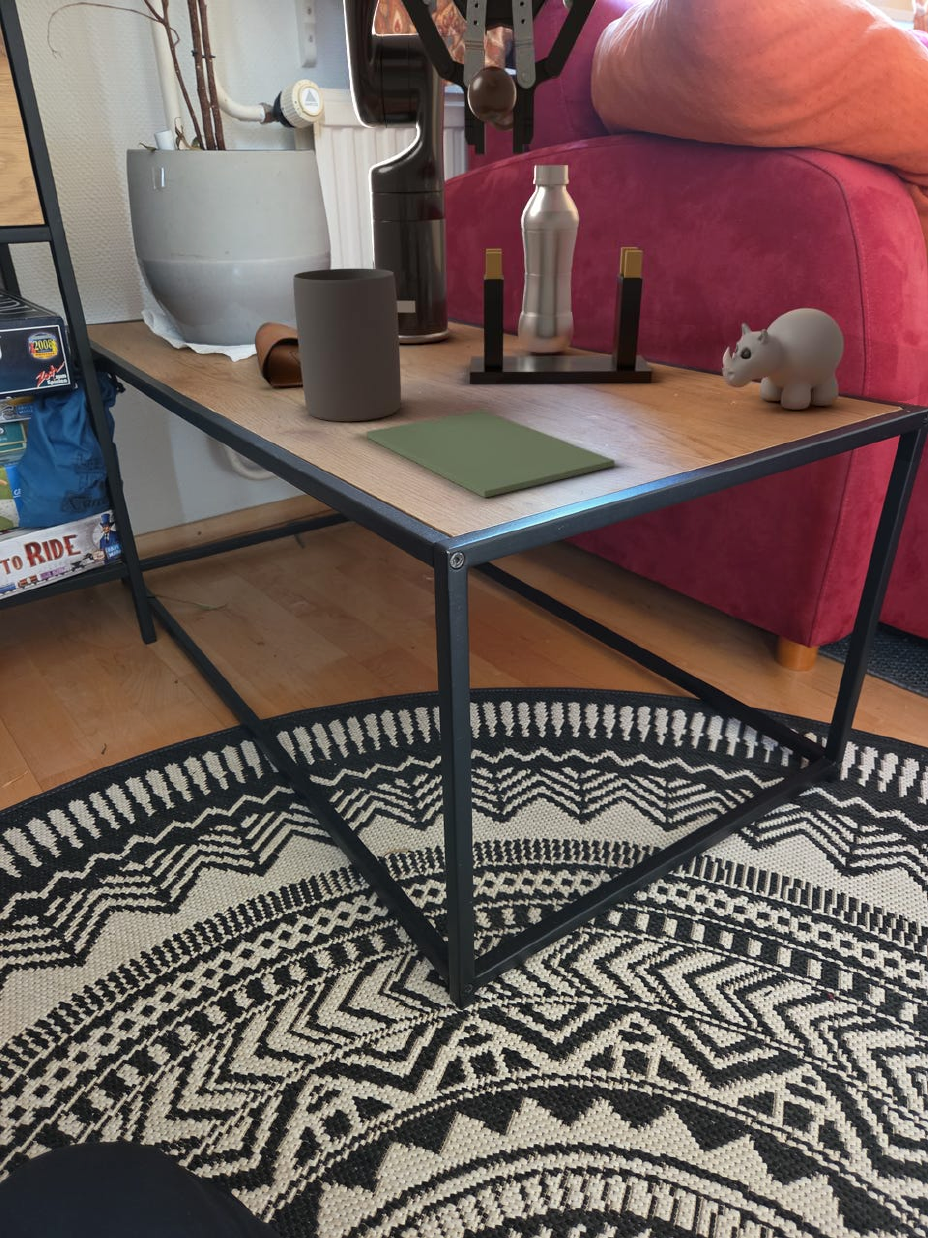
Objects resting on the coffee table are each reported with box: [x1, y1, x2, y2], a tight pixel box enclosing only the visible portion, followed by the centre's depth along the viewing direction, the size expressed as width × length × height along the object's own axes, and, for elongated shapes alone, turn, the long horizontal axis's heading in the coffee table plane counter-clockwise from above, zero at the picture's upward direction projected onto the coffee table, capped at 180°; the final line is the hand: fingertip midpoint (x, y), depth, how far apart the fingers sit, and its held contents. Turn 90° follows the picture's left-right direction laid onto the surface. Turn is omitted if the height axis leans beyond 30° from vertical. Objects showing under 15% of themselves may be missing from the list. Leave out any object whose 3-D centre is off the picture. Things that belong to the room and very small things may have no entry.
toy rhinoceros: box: [721, 307, 845, 411], centre depth 78 cm, size 7×12×8 cm, turn 108°
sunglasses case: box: [254, 321, 303, 388], centre depth 96 cm, size 18×7×7 cm
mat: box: [365, 410, 615, 499], centre depth 69 cm, size 18×12×1 cm, turn 33°
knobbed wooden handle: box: [468, 65, 516, 133], centre depth 58 cm, size 3×22×3 cm, turn 175°
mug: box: [292, 268, 402, 422], centre depth 80 cm, size 14×9×12 cm
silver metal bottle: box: [517, 164, 580, 355], centre depth 98 cm, size 6×7×20 cm
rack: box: [469, 246, 653, 384], centre depth 90 cm, size 8×19×12 cm, turn 88°
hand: (499, 152), depth 59 cm, fingers closed on knobbed wooden handle, 2 cm apart
